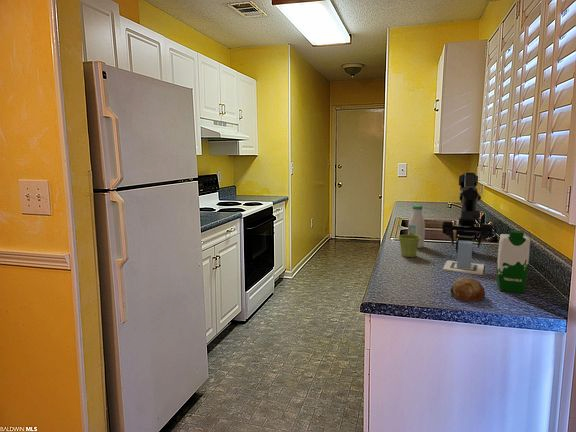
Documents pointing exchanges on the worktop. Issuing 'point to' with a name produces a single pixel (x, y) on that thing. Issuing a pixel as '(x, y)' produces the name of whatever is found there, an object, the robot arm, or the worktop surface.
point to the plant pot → (409, 245)
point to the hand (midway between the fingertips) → (465, 246)
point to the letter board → (474, 268)
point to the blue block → (464, 254)
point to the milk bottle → (417, 224)
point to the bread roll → (467, 290)
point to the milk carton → (513, 262)
